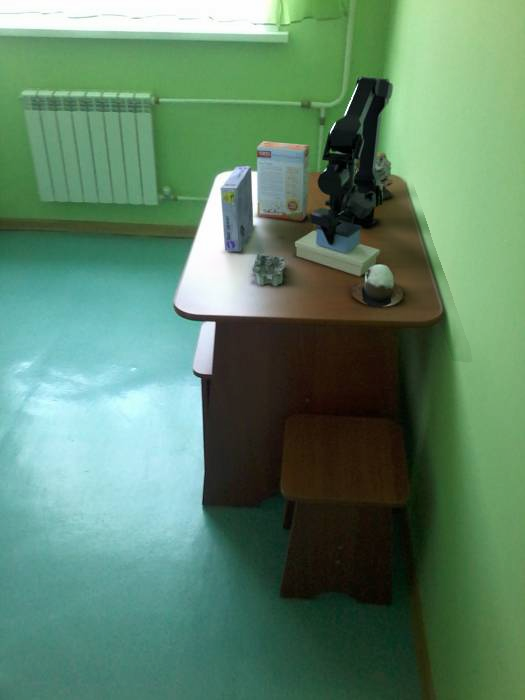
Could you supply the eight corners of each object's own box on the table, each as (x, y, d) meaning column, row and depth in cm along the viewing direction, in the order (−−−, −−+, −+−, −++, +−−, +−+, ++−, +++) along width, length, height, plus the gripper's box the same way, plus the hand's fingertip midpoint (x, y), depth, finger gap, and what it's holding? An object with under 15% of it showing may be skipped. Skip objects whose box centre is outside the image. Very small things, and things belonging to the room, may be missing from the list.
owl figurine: (333, 200, 196) (337, 145, 186) (334, 187, 205) (338, 134, 195) (391, 202, 194) (398, 147, 184) (389, 189, 203) (396, 136, 194)
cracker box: (307, 214, 186) (310, 144, 174) (302, 222, 182) (304, 150, 170) (263, 208, 190) (263, 139, 178) (256, 216, 185) (256, 145, 173)
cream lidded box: (313, 243, 170) (313, 230, 168) (378, 263, 160) (380, 249, 158) (294, 255, 164) (295, 241, 162) (361, 277, 154) (362, 262, 152)
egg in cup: (346, 276, 152) (377, 248, 148) (374, 302, 156) (406, 276, 151) (348, 299, 142) (382, 270, 138) (378, 327, 146) (413, 299, 141)
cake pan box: (238, 223, 181) (236, 163, 171) (255, 224, 180) (254, 164, 170) (222, 252, 166) (219, 188, 156) (240, 253, 165) (239, 189, 155)
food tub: (328, 235, 164) (329, 217, 161) (359, 244, 160) (361, 226, 157) (314, 244, 160) (315, 225, 157) (346, 254, 155) (348, 235, 152)
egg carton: (282, 287, 150) (282, 272, 148) (251, 285, 151) (251, 270, 149) (285, 266, 159) (286, 252, 157) (256, 265, 160) (256, 250, 157)
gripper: (351, 200, 140) (346, 262, 149) (389, 176, 152) (382, 235, 161) (310, 189, 145) (307, 250, 154) (350, 167, 158) (345, 225, 167)
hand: (337, 240), depth 159 cm, fingers closed on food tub, 6 cm apart
